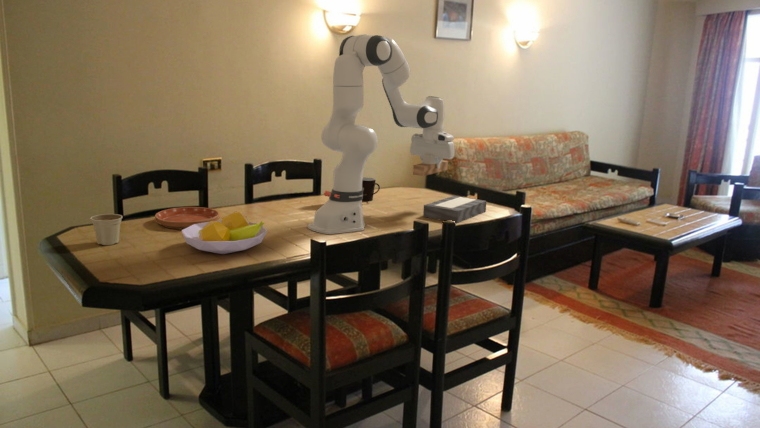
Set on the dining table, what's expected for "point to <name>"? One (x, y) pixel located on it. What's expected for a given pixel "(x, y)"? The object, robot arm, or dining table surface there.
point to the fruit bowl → (225, 234)
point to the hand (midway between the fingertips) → (430, 167)
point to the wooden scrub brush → (429, 168)
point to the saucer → (185, 216)
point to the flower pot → (107, 228)
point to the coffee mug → (368, 188)
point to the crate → (429, 159)
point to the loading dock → (454, 208)
